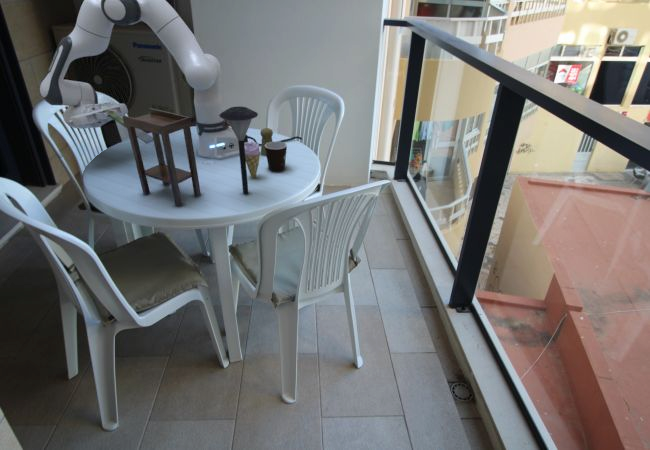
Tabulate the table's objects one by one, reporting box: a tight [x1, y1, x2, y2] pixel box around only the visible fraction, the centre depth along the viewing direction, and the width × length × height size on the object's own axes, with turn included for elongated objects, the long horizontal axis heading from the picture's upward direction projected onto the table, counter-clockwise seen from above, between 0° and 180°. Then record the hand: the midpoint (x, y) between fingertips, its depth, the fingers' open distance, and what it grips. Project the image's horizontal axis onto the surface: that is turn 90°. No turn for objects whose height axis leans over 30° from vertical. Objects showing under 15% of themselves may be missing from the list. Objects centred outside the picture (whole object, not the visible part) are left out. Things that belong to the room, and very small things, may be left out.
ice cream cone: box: [245, 140, 261, 179], centre depth 147 cm, size 7×6×15 cm
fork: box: [103, 109, 154, 145], centre depth 142 cm, size 24×4×1 cm, turn 60°
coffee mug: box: [265, 140, 288, 173], centre depth 157 cm, size 12×9×10 cm
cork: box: [260, 127, 274, 157], centre depth 169 cm, size 6×6×11 cm
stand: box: [121, 107, 202, 208], centre depth 130 cm, size 18×11×28 cm, turn 61°
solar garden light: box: [219, 106, 259, 196], centre depth 132 cm, size 12×12×30 cm
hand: (111, 113), depth 144 cm, fingers closed on fork
